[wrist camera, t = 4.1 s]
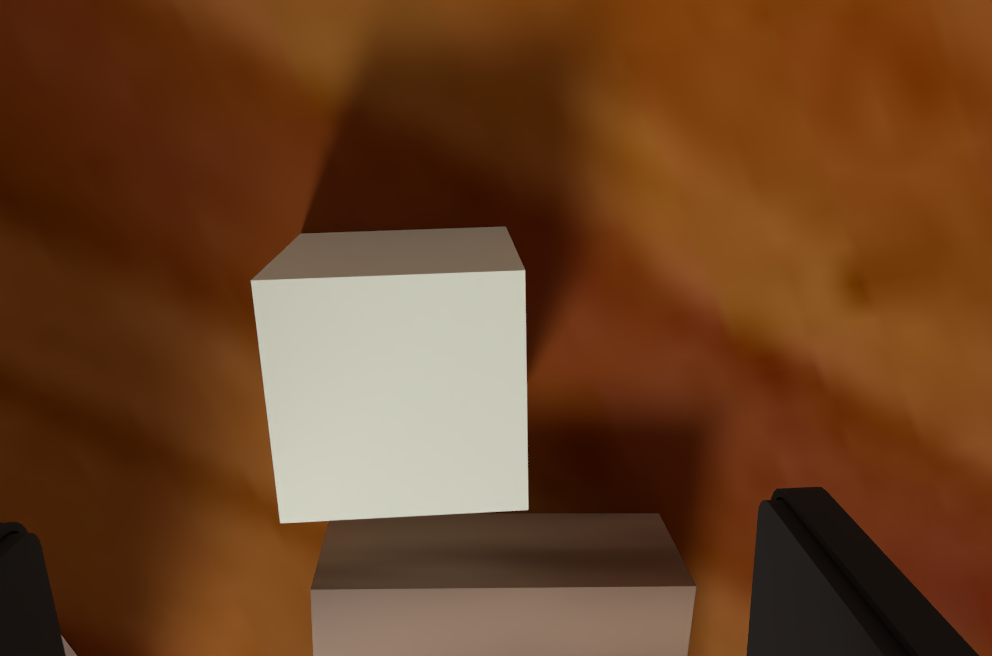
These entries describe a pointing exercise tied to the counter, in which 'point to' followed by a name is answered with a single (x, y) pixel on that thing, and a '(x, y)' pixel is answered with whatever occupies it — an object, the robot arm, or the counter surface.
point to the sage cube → (395, 373)
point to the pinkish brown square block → (502, 586)
